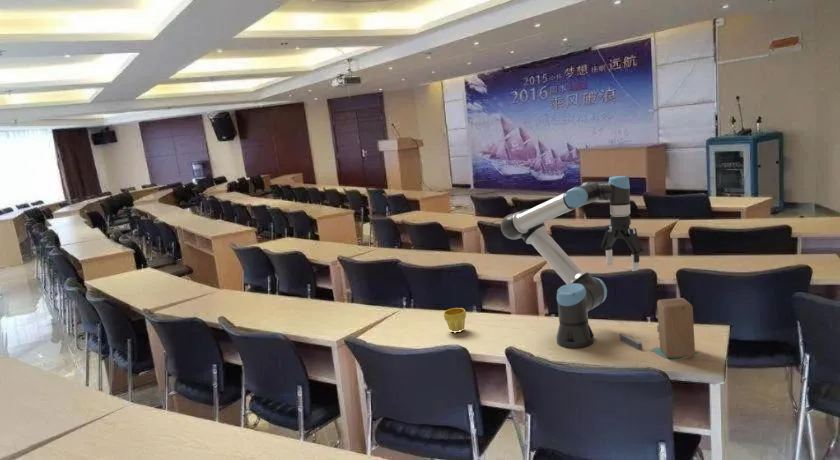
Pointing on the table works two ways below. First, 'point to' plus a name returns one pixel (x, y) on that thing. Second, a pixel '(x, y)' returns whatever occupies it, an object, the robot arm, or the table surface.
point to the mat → (665, 355)
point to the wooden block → (676, 327)
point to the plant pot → (455, 318)
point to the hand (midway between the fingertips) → (622, 268)
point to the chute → (632, 340)
